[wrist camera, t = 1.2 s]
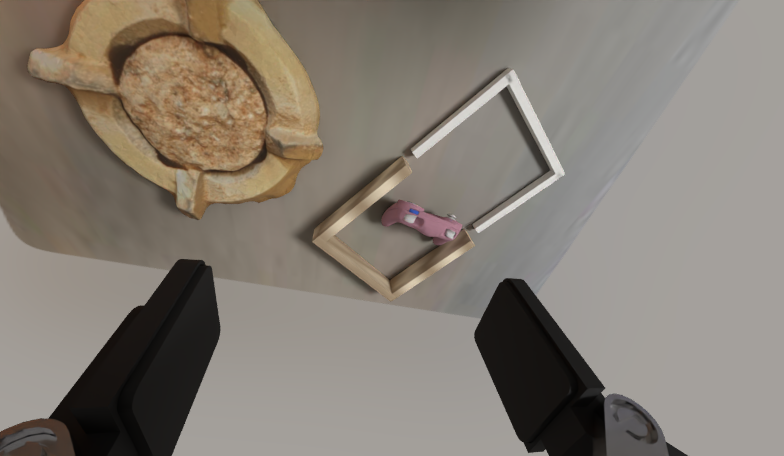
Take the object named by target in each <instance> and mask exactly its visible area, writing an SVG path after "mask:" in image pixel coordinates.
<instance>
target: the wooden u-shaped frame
mask: <svg viewBox="0 0 784 456" xmlns="http://www.w3.org/2000/svg"><path fill="white" fill-rule="evenodd" d="M411 173H412V171H411V168H410V166H409V164H408V162H407V161H406V160H405V159H404V157H403V156H401V157H400V158H399V159H398V160H397V161H395V162H394V163H393V164H392V165H391V166H389V167H388V168H387V169H386V170H385V171H383V172H382V173H381V174H380V175H379V176H377V177H376V178H375V179H374V180H372V181H371V182H370V183H369V184H368V185H366V186H365V187H364V188H363V189H362V190H360V191H359V192H358V193H357V194H356V195H354V196H353V197H352V198H351V199H350V200H348V201H347V202H346V203H345V204H344V205H342V206H341V207H340V208H339V209H337V210H336V211H335V212H334V213H333V214H331V215H330V216H329V217H328V218H327V219H325V220H324V221H323V222H322V223H321V224H319V225H318V226H317V227H316V228H315V229H314V233H313V239H312V242H313V243H314V244H316V245H317V246H318V247H320V248H321V249H322V250H324V251H325V252H326V253H327V254H329V255H330V256H331V257H333V258H334V259H335V260H337V261H338V262H339V263H341V264H342V265H343V266H345V267H346V268H347V269H348V270H350V271H351V272H352V273H354V274H355V275H356V276H358V277H359V278H360V279H362V280H363V281H364V282H366V283H367V284H368V285H370V286H371V287H372V288H373V289H375V290H376V291H377V292H379V293H380V294H381V295H383V296H384V297H385V298H387V299H388V300H389V301H393V300H394V299H396V298H397V297H399V296H400V295H402V294H403V293H405V292H406V291H408V290H409V289H411V288H412V287H414V286H415V285H417V284H418V283H420V282H421V281H423V280H424V279H426V278H427V277H429V276H430V275H432V274H433V273H435V272H436V271H438V270H439V269H441V268H442V267H444V266H445V265H447V264H448V263H450V262H451V261H453V260H454V259H456V258H457V257H459V256H460V255H462V254H463V253H465V252H466V251H468V250H469V249H471V248H472V247H474V246H475V245H474V243H473V241H472V239H471V238H470V236H469V234H468V233H467V232H466V231H465V229H463V230H461V231H460V232H459V234H458V235H457V237H456V238H455V239H454V240H452V241H448V242H446V243H444V244H442V245H440V246H438V247H437V248H435V249H434V250H432V251H431V252H430V253H428V254H427V255H425V256H424V257H422V258H421V259H419V260H418V261H417V262H415V263H414V264H412V265H411V266H409V267H408V268H406V269H405V270H404V271H402V272H401V273H399V274H398V275H396V276H395V277H393V278H392V279H391V280H389V279H388V278H386V277H385V276H384V275H383V274H382V273H380V272H379V271H378V270H377V269H375V268H374V267H373V266H372V265H371V264H369V263H368V262H367V261H366V260H364V259H363V258H362V257H361V256H360V255H358V254H357V253H356V252H355V251H353V250H352V249H351V248H350V247H348V246H347V245H346V244H345V243H344V242H342V241H341V240H340V239H339V238H337V237H336V236H335V234H336V233H337V232H339V231H340V230H341V229H342V228H344V227H345V226H346V225H347V224H349V223H350V222H351V221H352V220H354V219H355V218H356V217H357V216H359V215H360V214H361V213H362V212H364V211H365V210H366V209H367V208H369V207H370V206H371V205H372V204H374V203H375V202H376V201H377V200H379V199H380V198H381V197H382V196H384V195H385V194H386V193H387V192H389V191H390V190H391V189H392V188H394V187H395V186H396V185H397V184H399V183H400V182H401V181H402V180H404V179H405V178H406V177H407V176H409V175H410V174H411Z"/></svg>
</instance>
